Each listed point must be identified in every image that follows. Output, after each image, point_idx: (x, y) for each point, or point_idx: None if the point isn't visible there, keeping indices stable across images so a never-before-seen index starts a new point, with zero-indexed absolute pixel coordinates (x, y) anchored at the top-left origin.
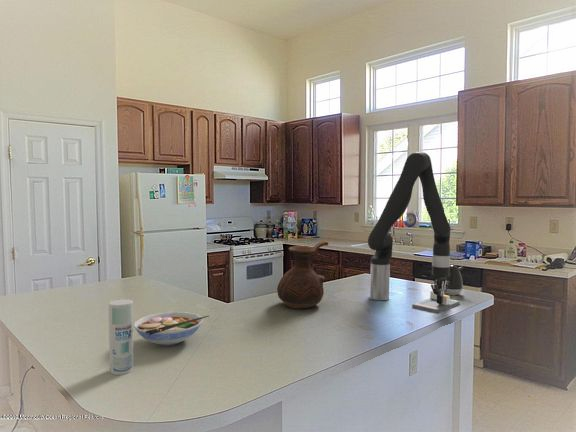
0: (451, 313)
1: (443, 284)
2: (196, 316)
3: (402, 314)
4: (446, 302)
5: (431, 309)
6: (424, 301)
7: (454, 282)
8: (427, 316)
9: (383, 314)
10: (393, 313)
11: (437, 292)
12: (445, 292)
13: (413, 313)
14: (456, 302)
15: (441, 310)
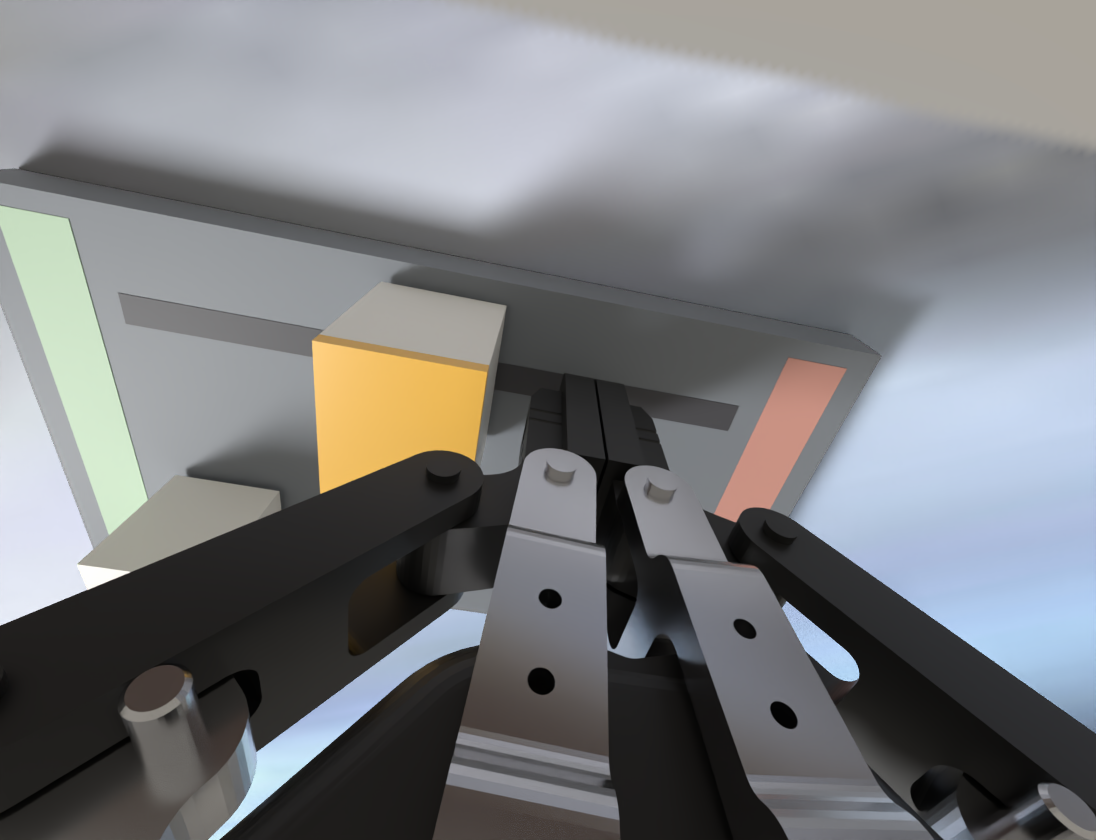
0: (767, 119)
1: (589, 774)
2: None
3: (1042, 607)
4: (498, 322)
5: (825, 431)
6: (487, 590)
7: None
8: (1081, 391)
9: (1080, 703)
10: (1021, 664)
11: (865, 597)
12: (455, 462)
13: (965, 545)
14: (118, 205)
15: (719, 311)
